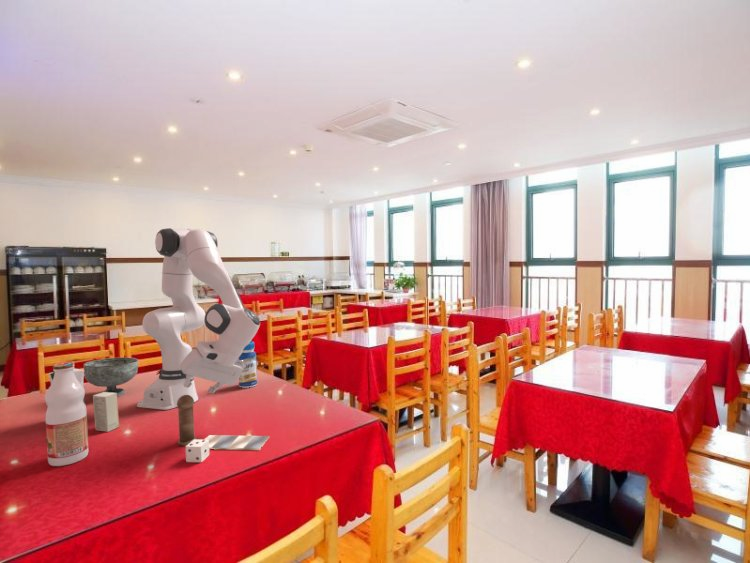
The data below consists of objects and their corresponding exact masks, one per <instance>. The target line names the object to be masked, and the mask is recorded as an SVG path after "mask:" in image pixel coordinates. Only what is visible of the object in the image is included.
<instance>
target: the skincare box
mask: <svg viewBox="0 0 750 563" xmlns="http://www.w3.org/2000/svg"><path fill="white" fill-rule="evenodd" d="M101 392H102V393H101ZM101 392H99V393H96V394H93V395H92V401H93V413H94V414H93V416H94V426H95V431H101V432H111V431H114V430H116V429H117V428H119V427H120V419H119V409H118V408H119V406H118V397H117V393H113V392H103V391H101Z"/></svg>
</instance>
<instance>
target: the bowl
mask: <svg viewBox="0 0 750 563" xmlns="http://www.w3.org/2000/svg"><path fill="white" fill-rule="evenodd" d="M139 361H140V360H139V359H138V358H135V357H125V356H124V357H109V358H101V359H97V360H91V361H90V360H89V361H87V362H85V363H83V370H84V379H85V380H86V382H88V383H89V384H91V385H93V386H94V387H95V386H96V387H102V388H103V387H105V388H106V389H105V390H103V391H101V392H100V393H102V392H113V393H117V396H119V397H120V395H121V396H123V395H124V394H125V393H126V390H125V389H124V388H120V387H119V388H118V387H117V386H121V385H124V384H127V383H128V382H129V381H131V380H132V379H134V378H135V376H137V373H138V368H139ZM122 394H123V395H122Z"/></svg>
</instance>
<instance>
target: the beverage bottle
mask: <svg viewBox="0 0 750 563" xmlns="http://www.w3.org/2000/svg"><path fill="white" fill-rule="evenodd" d="M254 350H255V342H254V341H252V340H251V341H250V343H249V344H248V345H247V346H245V348H244V349H243V351H242V354H241V355H240V356H239V358H238V359H239V360H242V361H244V363H245V368H244V369H243V371H242V373H241V375H240V377H239V379H238V388H241V387H242V388H241V389H249V387H250V388H254V387H256V386H257V385H258V376H257V375H258V372H257V371H258V368H257V367H258V361H257V354H256V351H254Z"/></svg>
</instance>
